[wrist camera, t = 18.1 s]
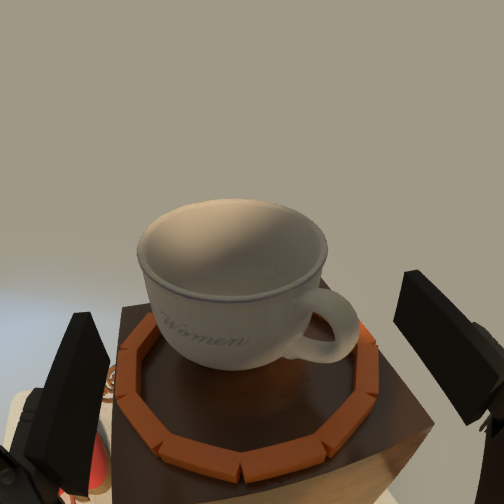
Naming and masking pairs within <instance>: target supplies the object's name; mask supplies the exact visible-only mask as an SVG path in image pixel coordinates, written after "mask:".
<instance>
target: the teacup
mask: <svg viewBox="0 0 504 504" xmlns="http://www.w3.org/2000/svg"><path fill="white" fill-rule="evenodd" d="M327 253H328V247H327V240H326V238H325V236H324V234H323V232H322V231H321V229H320V228H319V227H318V226H317V225H316V224H315V223H314V222H313V221H311V220H310V219H309V218H307V217H306V216H304V215H303V214H301V213H299V212H297V211H295V210H293V209H290V208H288V207H285V206H282V205H278V204H275V203H270V202H265V201H261V200H252V199H237V198H236V199H235V198H234V199H216V200H209V201H204V202H199V203H194V204H188V205H184V206H181V207H180V208H177V209H175V210H173V211H170V212H168V213H166V214H164V215H162V216H161V217H159V218H158V219H156V220H155V221H154V222H152V223H151V224H150V225H149V226H148V227H147V228H146V229H145V231H144V232H143V234H142V236H141V237H140V240H139V243H138V247H137V257H138V262H139V264H140V266H141V269H142V271H143V275H144V280H145V284H146V289H147V293H148V297H149V300H150V304H151V308H152V311H153V314H154V317H155V320H156V322H157V325H158V327H159V329H160V331H161V333H162V335H163V336H164V337H165V339H166V340H167V342H168V343H169V344H170V345H171V346H172V347H173V348H174V349H175V350H176V351H177V352H179V353H180V354H181V355H182V356H184V357H186V358H187V359H189V360H191V361H193V362H195V363H197V364H200V365H202V366H206V367H209V368H214V369H219V370H231V371H235V370H247V369H252V368H256V367H260V366H263V365H266V364H269V363H271V362H273V361H275V360H277V359H278V358H280V357H284V358H287V359H291V360H293V359H297V358H299V359H303V360H307V361H311V362H316V363H333V362H336V361H339V360H341V359H343V358H344V357H345V356H347V355H348V354H349V353H350V351H351V350H352V349H353V348H354V346H355V345H356V343H357V341H358V339H359V331H360V325H359V319H358V317H357V314H356V312H355V310H354V309H353V307H352V305H351V304H350V303H349V302H348V301H347V300H346V299H345V298H344V297H343V296H341V295H340V294H338V293H337V292H334V291H331V290H329V289H323V288H319V284H320V279H321V273H322V268H323V265H324V263H325V261H326V258H327ZM313 312H315V313H317V314H319V315H320V316H322V317H323V318H324V319H325V320H326V321H327V322H328V323H329V325H330V326H331V327H332V330H333V332H334V335H335V341H332V342H325V341H318V340H314V339H310V338H307V337H304V336H303V334H304V332H305V331H306V329H307V327H308V324H309V322H310V319H311V316H312V313H313Z"/></svg>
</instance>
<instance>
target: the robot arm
mask: <svg viewBox="0 0 504 504" xmlns="http://www.w3.org/2000/svg"><path fill="white" fill-rule="evenodd" d="M393 322H394V323H395V325H396V326H397V327H398V328H399V330H400V331H401V333H402V334H403V335H404V337H405V338H406V339H407V341H408V342H409V343H410V345H411V346H412V347H413V349H414V350H415V351H416V353H417V354H418V356H419V357H420V358H421V360H422V361H423V363H424V364H425V366H426V367H427V368H428V370H429V371H430V372H431V374H432V375H433V377H434V378H435V380H436V381H437V383H438V384H439V385H440V387H441V388H442V390H443V391H444V393H445V394H446V396H447V397H448V399H449V400H450V402H451V403H452V405H453V406H454V408H455V409H456V411H457V412H458V414H459V415H460V417H461V418H462V420H463V421H464V423H465V425H466V426H468V425H469V424H471V423H473V422H475V421H477V420H478V419H480V418H481V417H482V415H483V414H484V413H485V411H486V410H487V409H488V410H489V412H490V415H489V416H488V417H487V419H486V420H485V421H484V423H483V424H482V425H481V427H480V430H479V431H482V430H483V429H484V427H485V426H486V425H487V429H486V430H485V432H486V440H485V448H484V455H483V462H482V468H481V474H480V480H479V485H478V490H477V495H476V499H475V504H504V348H503V347H502V346H501V345H500V344H498V342H497V341H496V340H495V339H494V338H492V335H491V334H490V333H489V332H488V331H487V330H486V329H485V328H484V327H482V326H480V325H479V324H477V323H476V322H473V323H471V322H470V321H469V320H468V319H467V318H466V317H465V315H463V313H462V312H461V311H460V310H459V309H458V308H457V307H456V306H455V305H454V304H453V303H452V302H451V301H450V300H449V299H448V298H447V297H446V296H445V295H444V294H443V293H441V291H440V290H439V289H438V288H437V287H436V286H435V285H434V284H433V283H432V282H431V281H429V280H428V279H427V278H426V277H425V276H424V275H423V274H422V273H421V272H420V271H419V270H413V271H407V272H404V277H403V281H402V286H401V291H400V295H399V299H398V303H397V308H396V312H395V316H394V320H393ZM109 365H110V359H109V356H108V354H107V352H106V350H105V347H104V345H103V343H102V340H101V338H100V336H99V333H98V330H97V328H96V326H95V323H94V321H93V318H92V315H91V313H90V312H81V313H80V312H79V313H74V314H73V316H72V318H71V320H70V323H69V325H68V327H67V330H66V332H65V334H64V337H63V339H62V341H61V344H60V346H59V349H58V351H57V354H56V356H55V359H54V361H53V364H52V367H51V369H50V372H49V374H48V377H47V380H46V383H45V386H44V388H34V389H33V391H32V392H31V393H30V394H29V396H28V397H27V399H26V401H25V404H24V407H23V412H22V413H21V416H20V421H19V422H18V425H17V428H16V431H15V434H14V437H13V441H12V444H11V447H10V451H9V452H8V451H7V450H6V449H5V448H4V447H3V446H1V445H0V504H65V502H64V501H63V499H62V498H61V497H60V496H59V490H60V488H61V489H62V490H63V491H65V492H66V493H67V494H69V495H76V496H83V497H88V490H89V481H90V472H91V464H92V457H93V450H94V444H95V437H96V431H97V425H98V419H99V414H100V409H101V403H102V398H103V393H104V388H105V384H106V379H107V374H108V370H109Z"/></svg>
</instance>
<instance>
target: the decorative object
mask: <svg viewBox="0 0 504 504" xmlns="http://www.w3.org/2000/svg"><path fill="white" fill-rule="evenodd" d="M111 484H112V482H111V459H110V456H109V453H108V451H107V448H106V446H105V444H104V442H103V440H102V439H101V437H100V435H99V434H98V432H97V431H96V437H95V444H94V450H93V457H92V464H91V472H90V481H89V490H88V494H95V495H96V494H102V493H105V492H106V491H107V490H108V489H109V488H110V486H111ZM63 492H64V491H63V490H62V489H61V488H60V490H59V496H60V495H61V494H62V493H63ZM74 498H75V499H76V500H77V501H80V502H88V501H89V499H88V497H83V496H76V495H70V499H71V504H75V499H74Z"/></svg>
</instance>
